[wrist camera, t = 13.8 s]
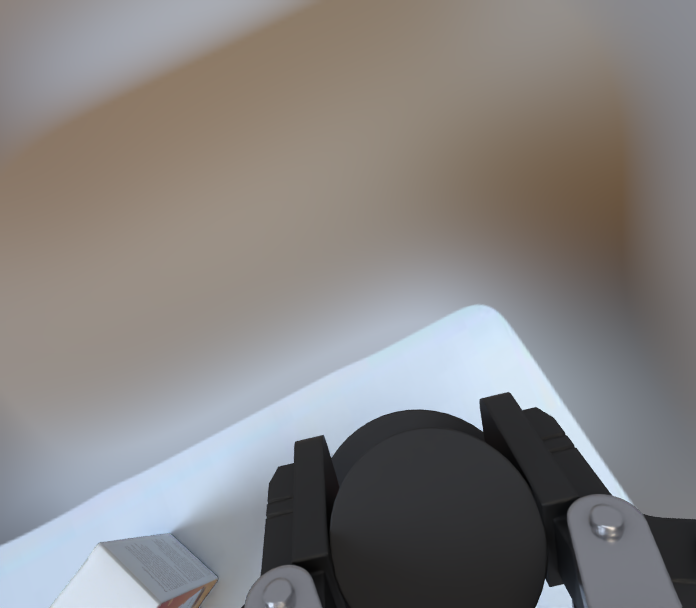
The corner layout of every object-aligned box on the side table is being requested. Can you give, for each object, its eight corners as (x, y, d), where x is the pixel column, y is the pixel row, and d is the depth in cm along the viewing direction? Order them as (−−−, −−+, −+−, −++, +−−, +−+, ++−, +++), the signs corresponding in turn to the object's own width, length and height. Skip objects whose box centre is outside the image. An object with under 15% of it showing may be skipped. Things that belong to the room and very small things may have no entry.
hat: (490, 391, 18) (553, 319, 11) (562, 614, 16) (711, 724, 8) (299, 436, 18) (229, 396, 11) (339, 664, 16) (283, 819, 8)
